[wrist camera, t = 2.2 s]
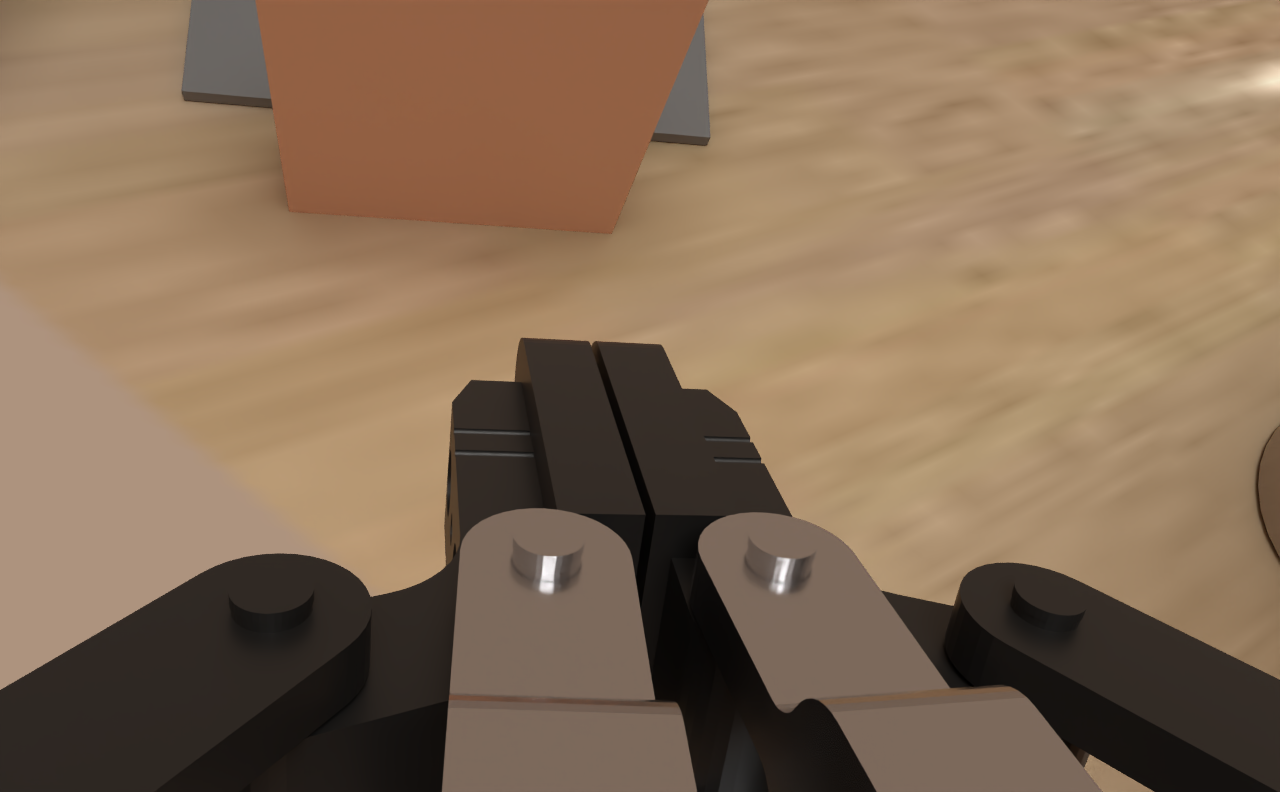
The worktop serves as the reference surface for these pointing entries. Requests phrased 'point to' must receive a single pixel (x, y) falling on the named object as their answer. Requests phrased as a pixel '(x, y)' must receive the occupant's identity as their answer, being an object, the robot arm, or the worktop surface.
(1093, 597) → the robot arm
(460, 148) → the tile
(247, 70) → the mat
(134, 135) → the worktop surface
